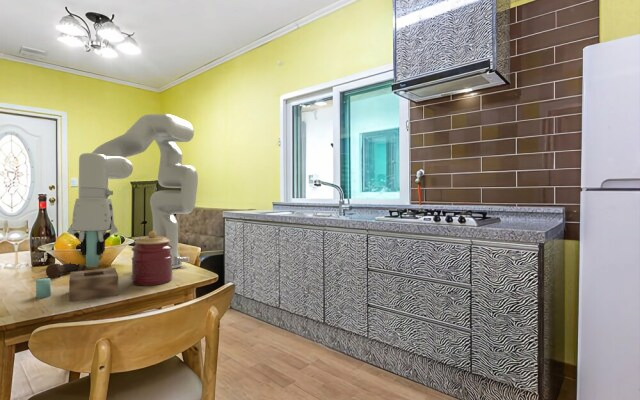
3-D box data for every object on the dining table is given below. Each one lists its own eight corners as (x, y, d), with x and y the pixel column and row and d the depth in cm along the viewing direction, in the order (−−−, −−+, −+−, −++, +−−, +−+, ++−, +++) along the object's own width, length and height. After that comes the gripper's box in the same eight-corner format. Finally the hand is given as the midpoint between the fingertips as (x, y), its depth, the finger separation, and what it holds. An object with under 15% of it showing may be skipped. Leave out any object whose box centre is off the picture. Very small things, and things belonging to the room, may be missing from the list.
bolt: (86, 273, 139) (53, 282, 124) (76, 266, 140) (42, 274, 125) (93, 261, 139) (61, 268, 124) (83, 254, 139) (50, 260, 124)
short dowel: (52, 294, 106) (52, 278, 105) (46, 297, 102) (46, 280, 102) (39, 295, 105) (39, 278, 105) (33, 298, 101) (33, 281, 101)
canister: (178, 276, 129) (178, 229, 128) (161, 286, 116) (162, 233, 115) (143, 276, 129) (144, 228, 129) (123, 285, 116) (123, 232, 116)
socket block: (114, 285, 116) (114, 267, 116) (118, 295, 106) (118, 275, 106) (70, 291, 109) (70, 272, 109) (69, 301, 99) (69, 280, 99)
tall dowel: (100, 264, 109) (101, 229, 109) (96, 266, 105) (96, 230, 105) (88, 265, 108) (88, 229, 108) (83, 267, 105) (84, 230, 104)
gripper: (127, 194, 112) (126, 251, 112) (68, 193, 108) (67, 252, 108) (119, 194, 105) (118, 255, 105) (56, 193, 101) (55, 257, 101)
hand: (92, 253), depth 107 cm, fingers closed on tall dowel, 3 cm apart
